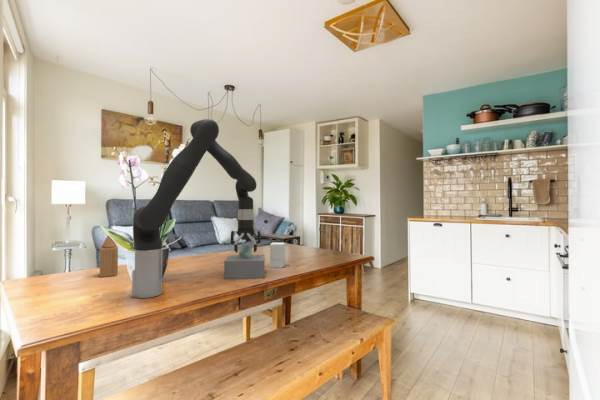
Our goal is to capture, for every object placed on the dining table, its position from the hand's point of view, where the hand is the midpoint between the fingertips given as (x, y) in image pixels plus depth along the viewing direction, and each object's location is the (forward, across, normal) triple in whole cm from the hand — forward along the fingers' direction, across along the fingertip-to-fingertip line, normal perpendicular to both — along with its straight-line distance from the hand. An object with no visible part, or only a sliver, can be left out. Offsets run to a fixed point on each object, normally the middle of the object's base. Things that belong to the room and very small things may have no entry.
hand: (245, 252), depth 143 cm
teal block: (+3, 0, 0) cm, 3 cm away
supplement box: (+11, +16, +16) cm, 25 cm away
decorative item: (+11, -64, +4) cm, 65 cm away
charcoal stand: (+11, 0, 0) cm, 11 cm away
